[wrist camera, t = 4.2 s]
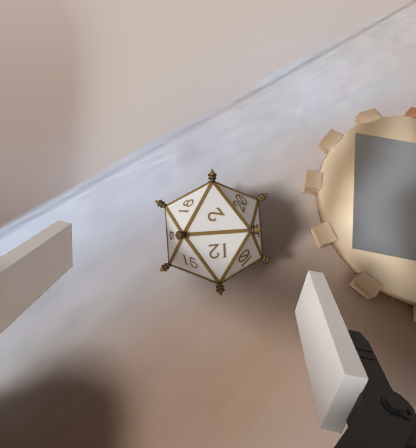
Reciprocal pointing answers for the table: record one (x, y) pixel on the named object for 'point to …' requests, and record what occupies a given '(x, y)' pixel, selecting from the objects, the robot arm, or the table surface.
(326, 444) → the table surface
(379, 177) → the sprocket plate
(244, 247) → the game die
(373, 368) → the robot arm
